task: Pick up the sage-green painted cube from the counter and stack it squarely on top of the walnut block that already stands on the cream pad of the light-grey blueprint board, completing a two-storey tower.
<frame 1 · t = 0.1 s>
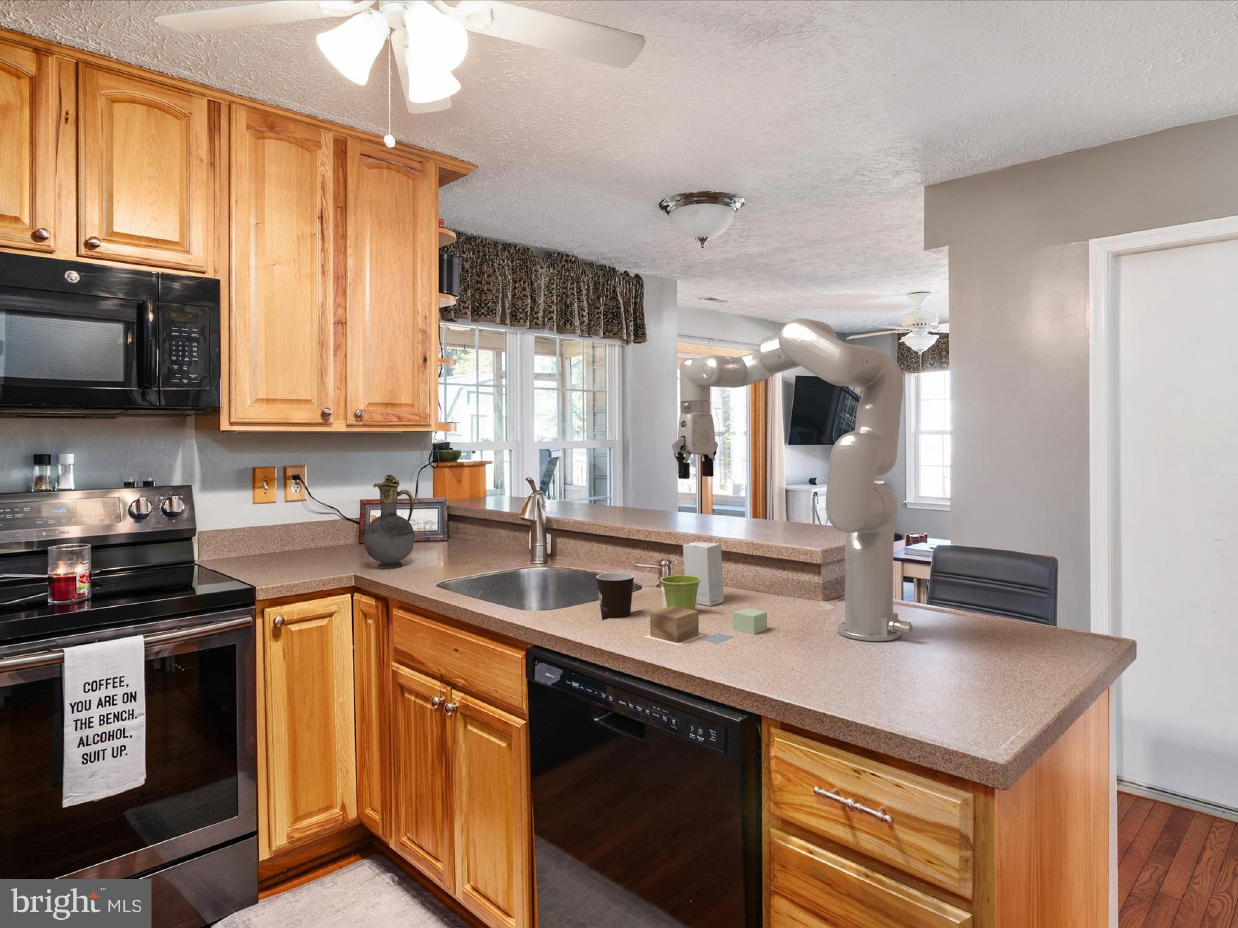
hand: (696, 477, 182), 31 cm above the counter, tool pointing down, fingers open, 9 cm apart
pitcher: (394, 566, 238), on the counter
blueprint board: (681, 641, 149), on the counter
skincare box: (703, 603, 182), on the counter
sage cube: (750, 635, 152), on the counter
walnut block: (674, 635, 148), point 1 cm above the counter, touching blueprint board
plant pot: (681, 616, 169), on the counter
coffee mug: (617, 618, 168), on the counter
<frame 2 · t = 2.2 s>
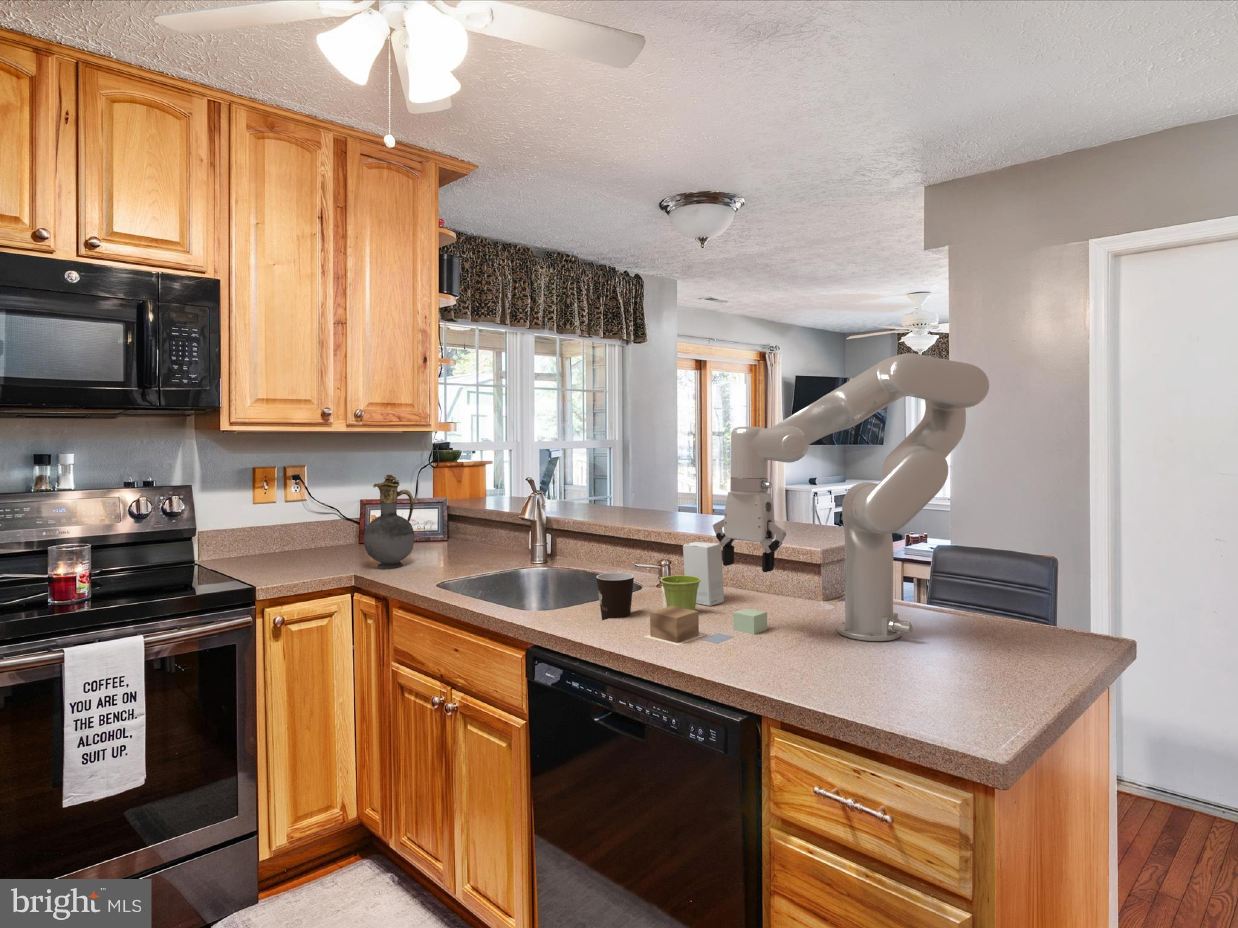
hand: (747, 567, 152), 14 cm above the counter, tool pointing down, fingers open, 9 cm apart
nothing on the counter moved.
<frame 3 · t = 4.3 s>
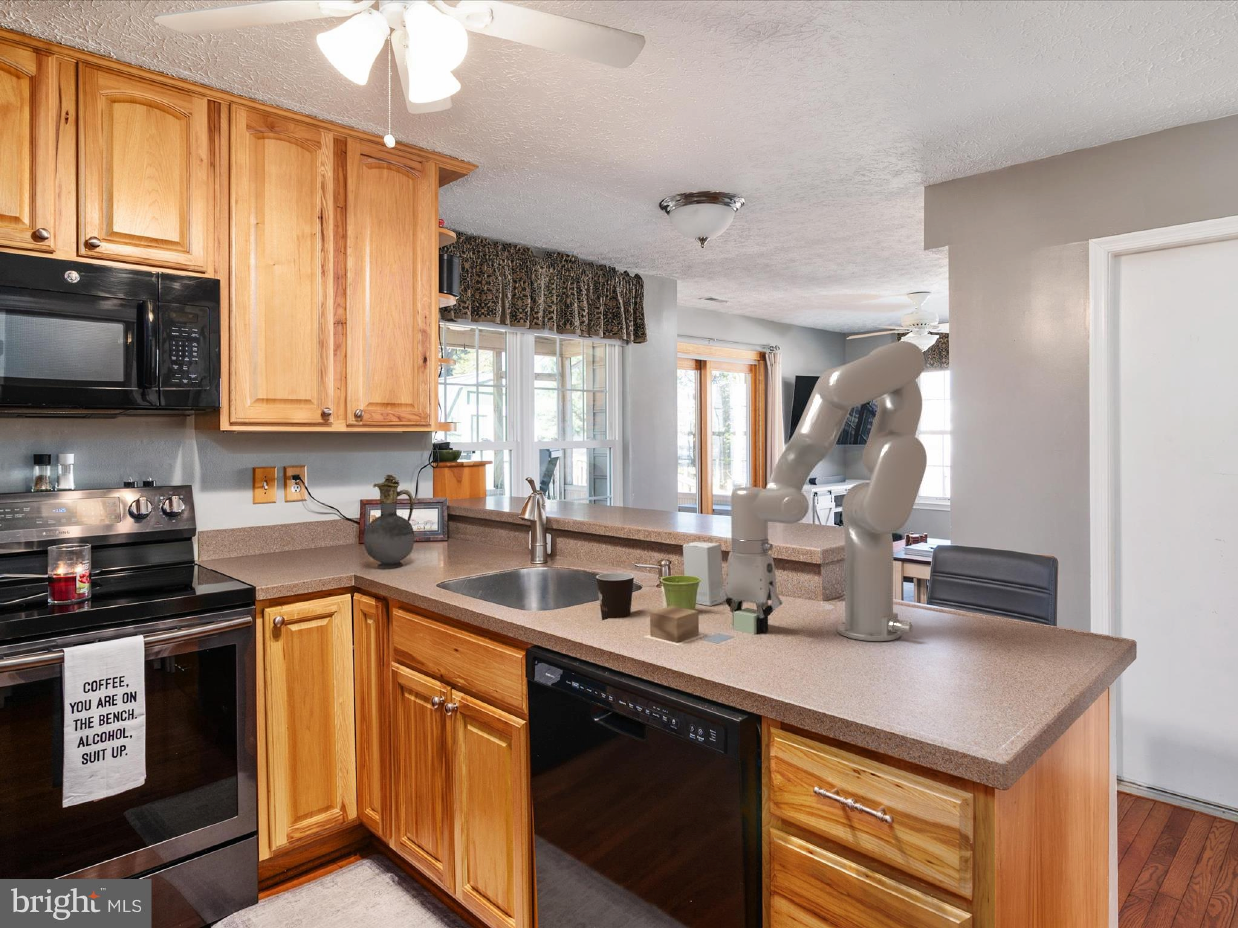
hand: (750, 631, 152), 1 cm above the counter, tool pointing down, fingers closed on sage cube, 5 cm apart
sage cube: (750, 635, 152), on the counter, touching gripper
everything else where it was.
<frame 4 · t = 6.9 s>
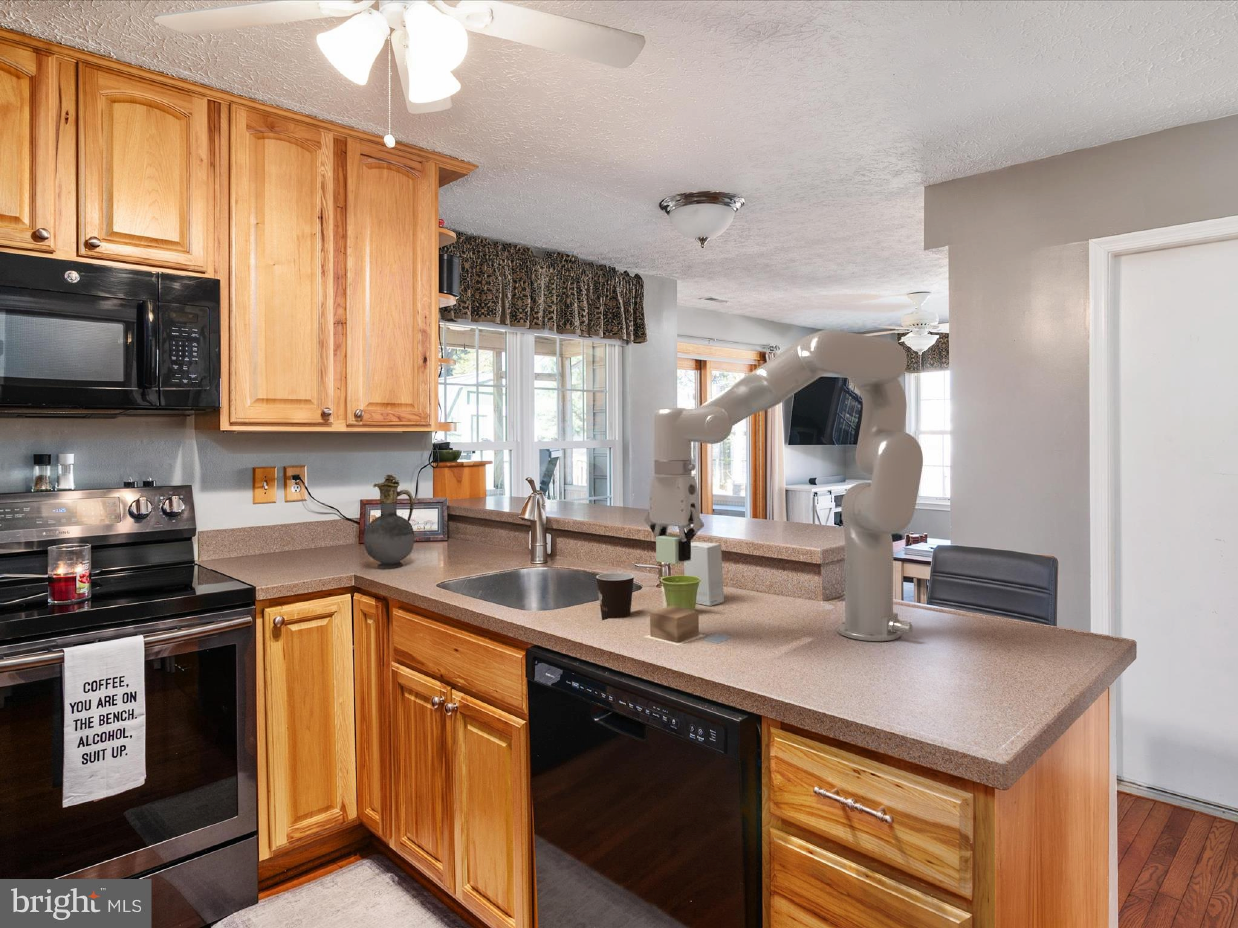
hand: (673, 557, 148), 17 cm above the counter, tool pointing down, fingers closed on sage cube, 5 cm apart
sage cube: (673, 560, 148), point 17 cm above the counter, touching gripper
everything else where it was.
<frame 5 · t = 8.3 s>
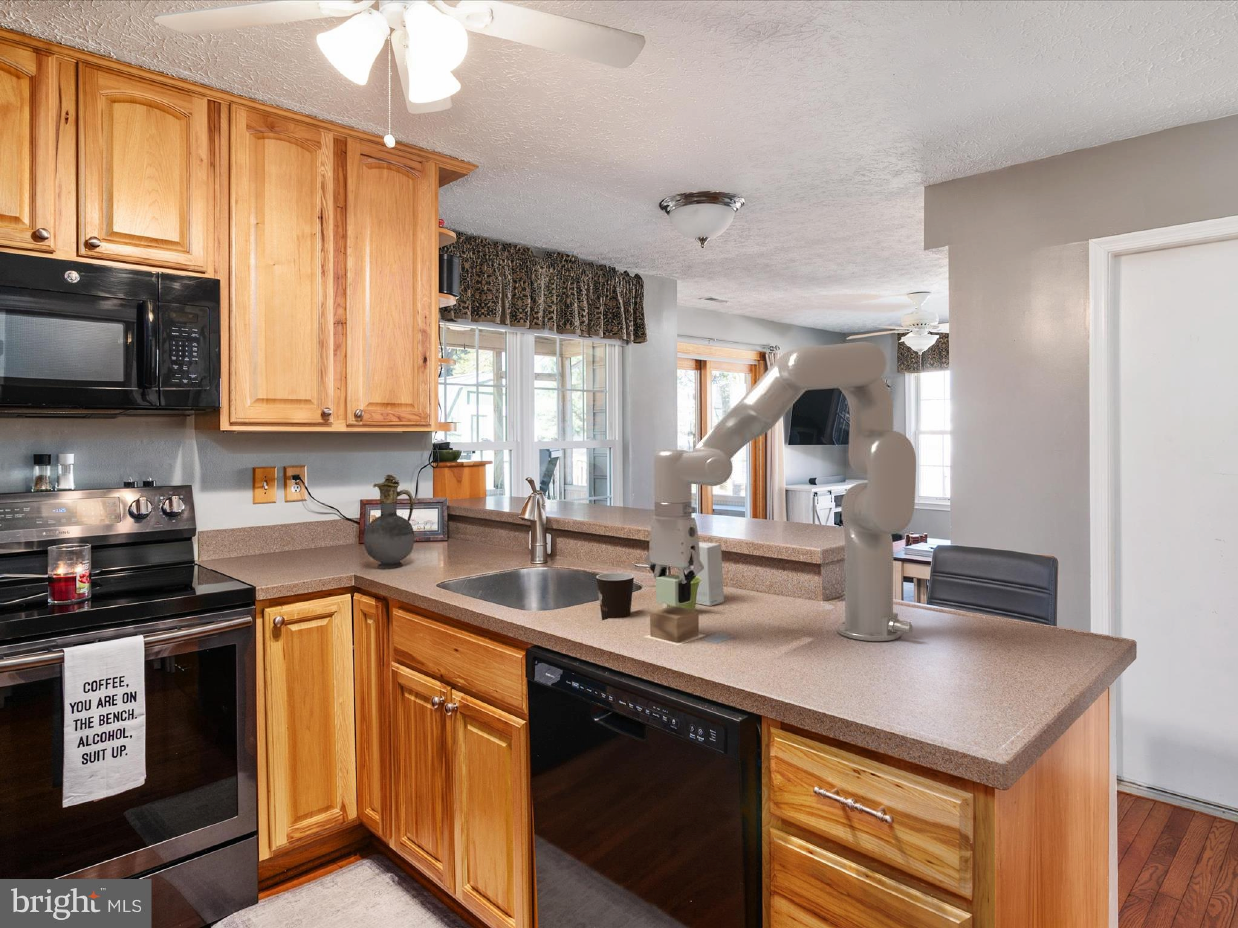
hand: (673, 598, 148), 9 cm above the counter, tool pointing down, fingers closed on sage cube, 5 cm apart
sage cube: (673, 601, 148), point 8 cm above the counter, touching gripper
everything else where it was.
when the fingers open (8 cm above the counter, at t = 9.3 s): sage cube drops 1 cm, resting on walnut block.
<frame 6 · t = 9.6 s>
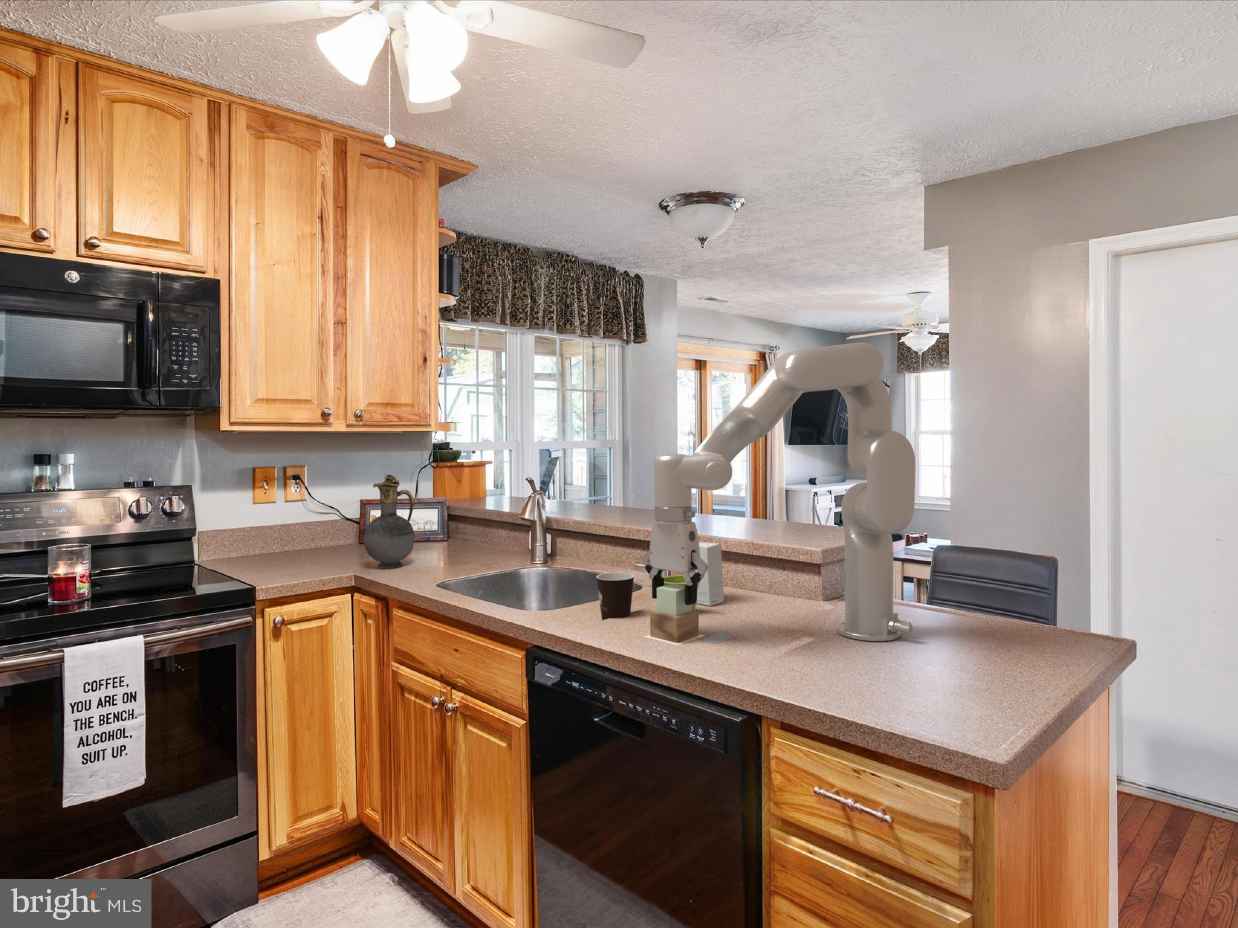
hand: (674, 600, 148), 9 cm above the counter, tool pointing down, fingers open, 8 cm apart
sage cube: (674, 611, 148), point 6 cm above the counter, touching walnut block
walnut block: (674, 635, 148), point 1 cm above the counter, touching blueprint board, sage cube
everything else where it was.
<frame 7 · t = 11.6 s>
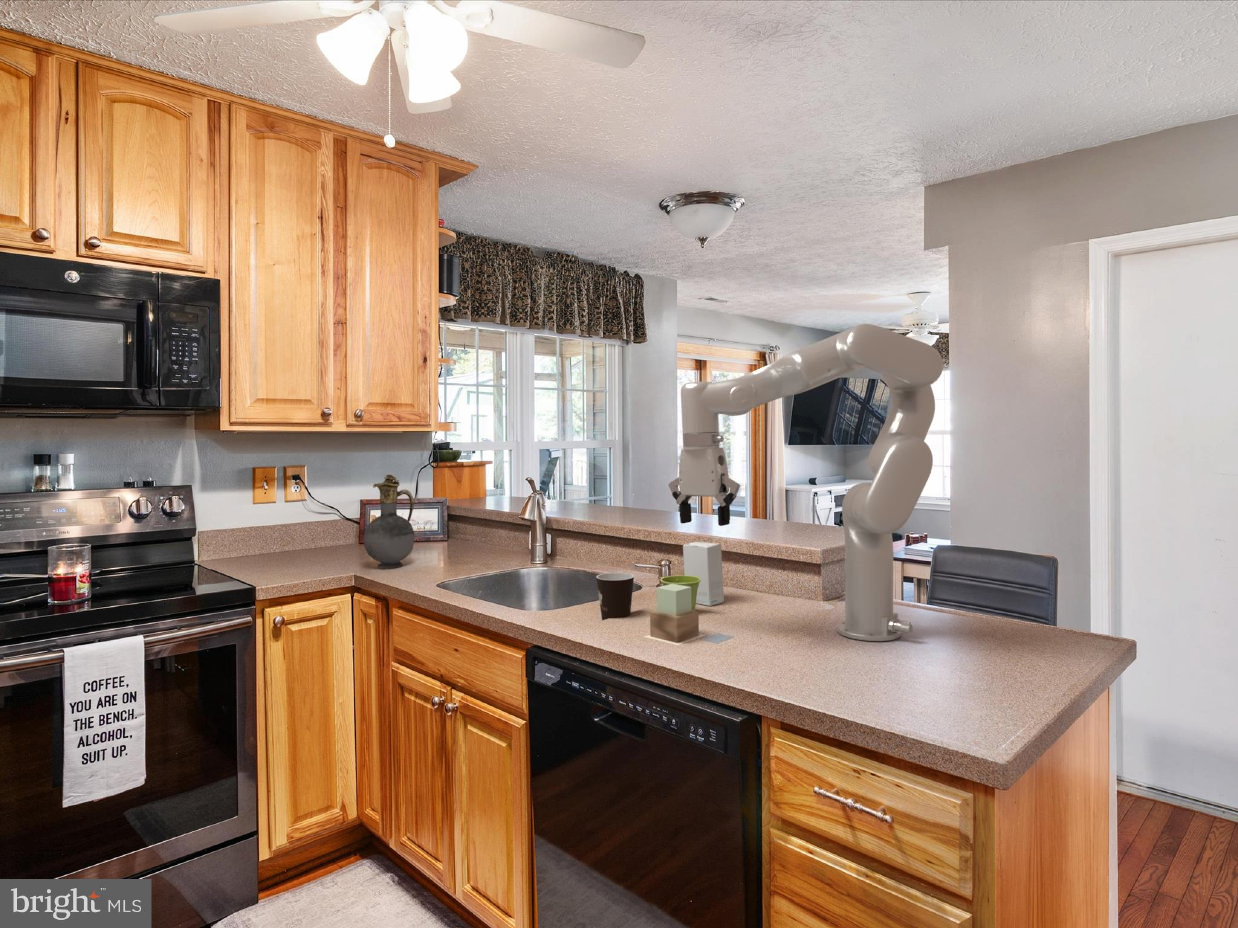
hand: (704, 523, 152), 24 cm above the counter, tool pointing down, fingers open, 9 cm apart
nothing on the counter moved.
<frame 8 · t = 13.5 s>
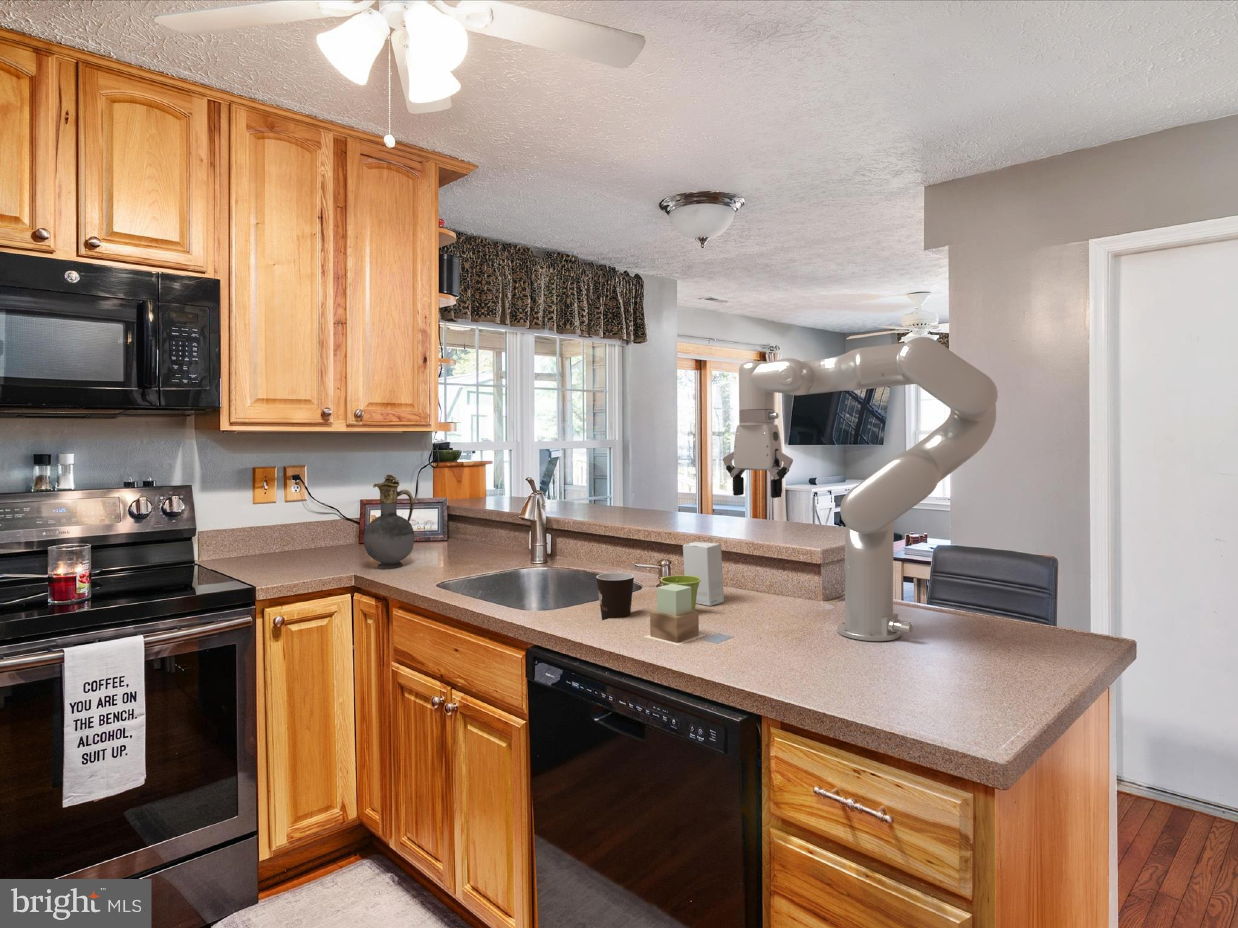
hand: (757, 496, 160), 28 cm above the counter, tool pointing down, fingers open, 9 cm apart
nothing on the counter moved.
at the end: sage cube 0.0 cm off-centre on the walnut block, point 5.0 cm above the walnut block's base; sage cube tilted 0°; walnut block moved 0.0 cm from its start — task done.
